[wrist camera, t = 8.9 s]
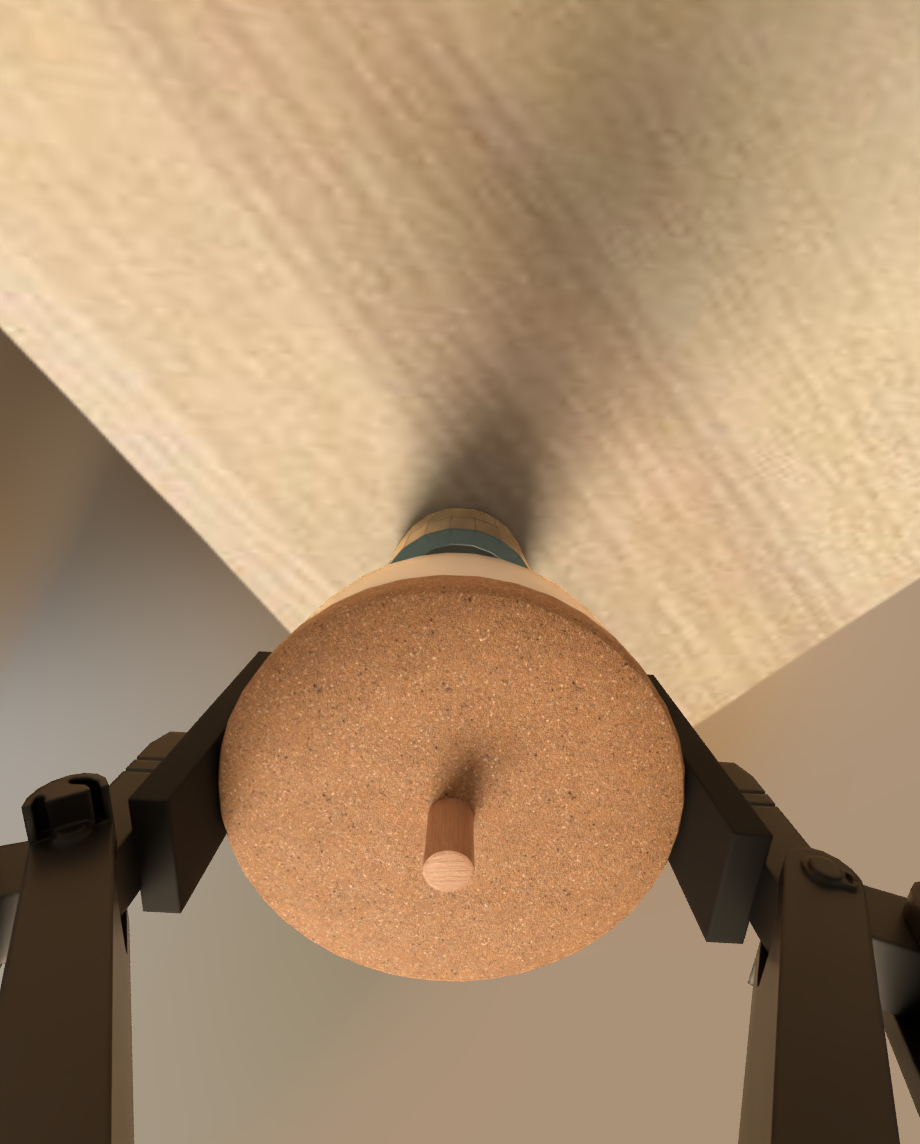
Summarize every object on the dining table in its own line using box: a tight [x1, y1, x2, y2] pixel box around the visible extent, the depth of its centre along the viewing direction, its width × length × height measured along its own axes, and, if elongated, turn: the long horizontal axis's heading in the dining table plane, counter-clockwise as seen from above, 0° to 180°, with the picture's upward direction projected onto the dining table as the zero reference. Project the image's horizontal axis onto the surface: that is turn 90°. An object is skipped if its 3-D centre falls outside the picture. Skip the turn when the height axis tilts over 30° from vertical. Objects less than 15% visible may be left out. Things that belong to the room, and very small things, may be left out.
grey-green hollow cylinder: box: [389, 508, 530, 569], centre depth 28 cm, size 8×8×6 cm
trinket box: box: [218, 553, 685, 981], centre depth 15 cm, size 11×11×9 cm
